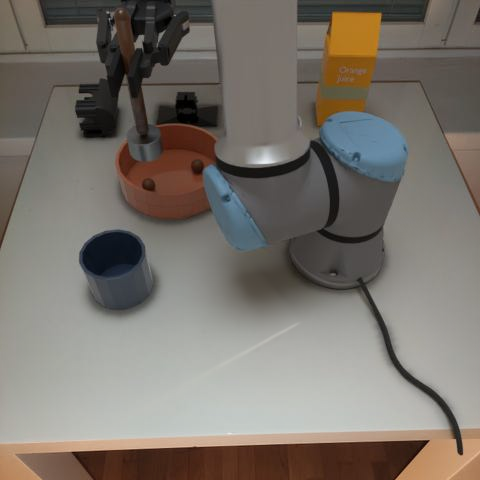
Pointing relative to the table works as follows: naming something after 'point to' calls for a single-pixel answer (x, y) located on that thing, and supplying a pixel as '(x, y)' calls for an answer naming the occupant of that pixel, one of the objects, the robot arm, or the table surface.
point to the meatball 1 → (148, 184)
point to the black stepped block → (188, 112)
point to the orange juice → (347, 63)
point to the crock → (116, 269)
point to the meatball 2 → (197, 165)
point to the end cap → (97, 109)
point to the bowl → (169, 173)
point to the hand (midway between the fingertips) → (122, 87)
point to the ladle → (136, 99)
